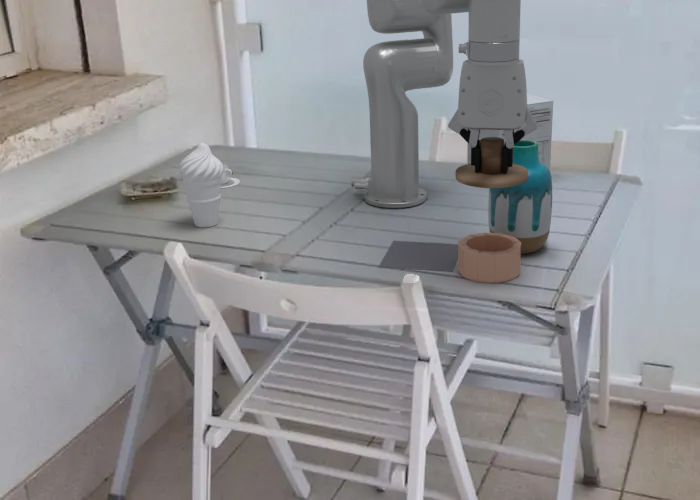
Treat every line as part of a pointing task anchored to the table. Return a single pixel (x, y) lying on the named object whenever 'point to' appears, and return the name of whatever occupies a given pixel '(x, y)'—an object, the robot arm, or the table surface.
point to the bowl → (489, 257)
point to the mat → (421, 256)
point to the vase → (524, 201)
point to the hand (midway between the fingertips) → (491, 169)
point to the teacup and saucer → (225, 177)
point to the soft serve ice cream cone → (202, 185)
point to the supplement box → (542, 135)
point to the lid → (491, 168)
